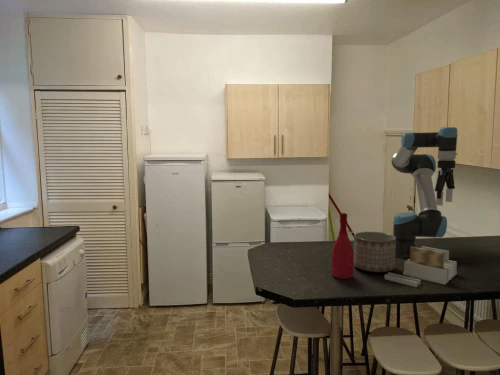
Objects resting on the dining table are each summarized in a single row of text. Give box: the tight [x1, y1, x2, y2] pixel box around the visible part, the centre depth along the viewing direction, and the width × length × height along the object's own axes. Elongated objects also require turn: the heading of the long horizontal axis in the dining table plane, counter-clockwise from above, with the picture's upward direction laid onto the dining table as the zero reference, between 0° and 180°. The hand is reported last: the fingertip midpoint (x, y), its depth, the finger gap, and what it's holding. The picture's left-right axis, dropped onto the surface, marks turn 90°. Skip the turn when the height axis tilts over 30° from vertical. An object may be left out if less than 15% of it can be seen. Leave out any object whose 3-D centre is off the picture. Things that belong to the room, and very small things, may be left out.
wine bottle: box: [331, 212, 354, 280], centre depth 164 cm, size 10×10×30 cm
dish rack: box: [402, 245, 458, 285], centre depth 166 cm, size 18×18×11 cm
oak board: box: [409, 246, 444, 269], centre depth 162 cm, size 14×2×12 cm, turn 47°
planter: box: [353, 231, 396, 273], centre depth 175 cm, size 19×19×16 cm
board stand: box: [384, 271, 421, 288], centre depth 158 cm, size 14×5×2 cm, turn 46°
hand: (444, 203), depth 172 cm, fingers open, 13 cm apart
